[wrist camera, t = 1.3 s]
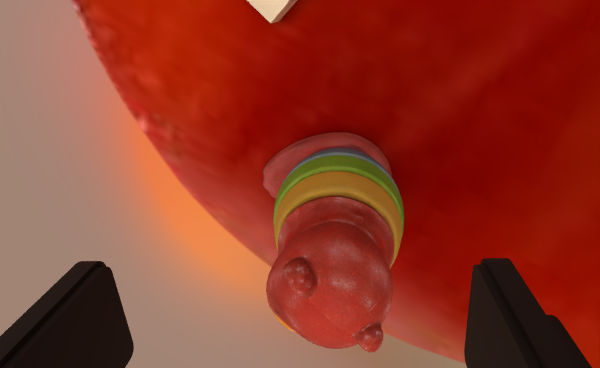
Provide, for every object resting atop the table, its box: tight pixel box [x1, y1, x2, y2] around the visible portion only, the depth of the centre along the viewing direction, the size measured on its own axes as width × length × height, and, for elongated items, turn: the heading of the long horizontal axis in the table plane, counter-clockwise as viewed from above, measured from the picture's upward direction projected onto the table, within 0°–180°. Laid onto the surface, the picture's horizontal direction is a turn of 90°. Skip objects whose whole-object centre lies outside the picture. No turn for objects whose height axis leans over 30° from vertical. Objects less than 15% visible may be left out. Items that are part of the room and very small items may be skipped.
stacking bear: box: [263, 132, 404, 352], centre depth 28 cm, size 11×10×18 cm
